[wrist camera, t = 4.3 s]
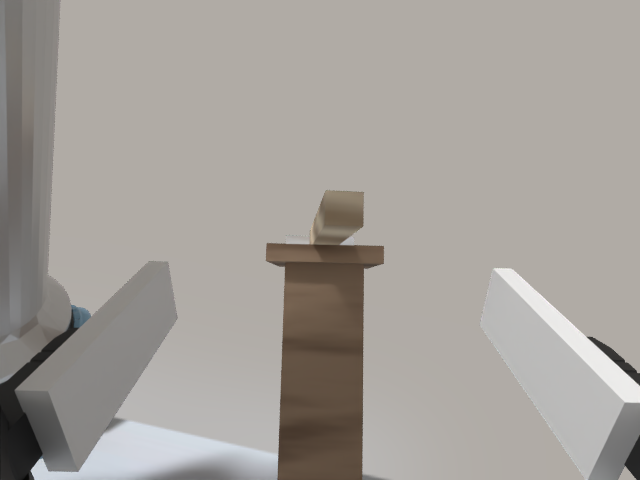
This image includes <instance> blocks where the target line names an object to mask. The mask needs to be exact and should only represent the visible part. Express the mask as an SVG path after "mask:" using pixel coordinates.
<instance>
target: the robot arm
mask: <svg viewBox="0 0 640 480" xmlns="http://www.w3.org/2000/svg"><path fill="white" fill-rule="evenodd" d="M59 19H60V0H0V480H34V477H33V475H32V473H31V471H30V470H31V469H32V468H33V466H34V465H35V464H36V462H37V461H38V460H39V459H42V458H43V459H44V462H45V464H46V466H47V469H48V471H64V472H78V471H79V470H80V468H81V467H82V465H83V464H84V462H85V461H86V459H87V457H88V456H89V454H90V453H91V451H92V450H93V448H94V447H95V445H96V444H97V442H98V441H99V439H100V437H101V436H102V434H103V433H104V431H105V430H106V428H107V427H108V425H109V424H110V422H111V420H112V419H113V417H114V416H115V414H116V413H117V411H118V410H119V408H120V407H121V405H122V403H123V402H124V400H125V399H126V397H127V396H128V394H129V393H130V391H131V390H132V388H133V387H134V385H135V383H136V382H137V380H138V379H139V377H140V376H141V374H142V373H143V371H144V370H145V368H146V367H147V365H148V363H149V362H150V360H151V359H152V357H153V355H154V354H155V352H156V351H157V349H158V348H159V347H160V345H161V343H162V342H163V340H164V339H165V337H166V336H167V334H168V333H169V331H170V329H171V328H172V326H173V325H174V323H175V322H176V320H177V313H176V307H175V301H174V295H173V289H172V283H171V277H170V271H169V265H168V262H156V261H155V262H154V261H149V262H148V263H147V264H146V265H145V266H144V267H143V268H142V269H141V270H140V271H138V272H137V274H135V275H134V276H133V277H132V278H131V279H130V280H129V281H128V282H127V283H126V284H125V285H124V286H123V287H122V288H121V289H120V290H119V291H118V292H116V293H115V294H114V296H112V297H111V298H110V299H109V300H108V301H107V302H106V303H105V304H104V305H103V306H102V307H101V308H100V309H99V310H98V311H97V312H96V313H95V314H94V315H93V316H91V315H90V313H89V311H88V310H86V309H85V308H80V307H76V306H74V305H71V304H70V300H69V296H68V294H67V292H66V291H65V289H64V288H63V286H62V285H61V284H60V283H58V281H56V280H55V279H54V278H52V277H51V276H49V275H48V256H49V235H50V213H51V192H52V170H53V148H54V126H55V124H54V123H55V106H56V83H57V62H58V40H59ZM480 326H481V328H482V329H483V331H484V332H485V334H486V335H487V336H488V338H489V339H490V341H491V342H492V344H493V345H494V347H495V348H496V350H497V351H498V353H499V354H500V355H501V357H502V358H503V360H504V361H505V363H506V364H507V366H508V367H509V369H510V370H511V372H512V373H513V375H514V376H515V377H516V379H517V380H518V382H519V383H520V385H521V386H522V388H523V389H524V391H525V392H526V394H527V395H528V396H529V398H530V399H531V401H532V402H533V404H534V405H535V407H536V408H537V409H538V411H539V412H540V414H541V415H542V417H543V418H544V420H545V421H546V423H547V424H548V426H549V427H550V429H551V430H552V432H553V433H554V434H555V436H556V437H557V439H558V440H559V442H560V443H561V445H562V446H563V448H564V449H565V451H566V452H567V453H568V455H569V456H570V458H571V459H572V461H573V462H574V464H575V465H576V467H577V468H578V469H579V471H580V472H581V474H582V475H583V477H584V478H585V480H618V478H619V476H620V475H621V473H622V471H623V469H624V467H625V466H626V467H627V468H628V470H629V471H630V472H631V473H632V475H633V476H634V477H635V478H636V479H637V480H640V373H637V371H636V370H635V369H634V368H633V367H632V366H631V365H630V364H629V363H625V360H624V359H623V358H622V357H621V356H619V355H618V354H617V353H616V352H615V351H614V350H613V349H611V348H610V347H608V346H607V345H605V344H603V343H602V342H600V341H598V340H596V339H595V338H593V337H586V336H585V335H584V334H583V333H582V332H580V331H579V330H578V329H577V328H576V327H575V326H574V325H573V324H572V323H571V322H570V321H568V320H567V319H566V318H565V317H564V316H563V315H562V314H561V313H560V312H559V311H557V310H556V309H555V308H554V307H553V306H552V305H551V304H550V303H549V302H547V300H545V299H544V298H543V297H542V296H541V295H540V294H539V293H538V292H537V291H536V290H535V289H533V288H532V287H531V286H530V285H529V284H528V283H527V282H526V281H524V279H523V278H521V277H520V276H519V275H518V274H517V273H516V272H515V271H514V270H513V269H503V268H502V269H501V268H493V270H492V274H491V278H490V283H489V287H488V291H487V295H486V300H485V304H484V308H483V312H482V316H481V321H480Z"/></svg>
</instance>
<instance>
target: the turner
mask: <svg viewBox="0 0 640 480" xmlns="http://www.w3.org/2000/svg"><path fill="white" fill-rule="evenodd" d="M363 195H364V192H351V191H330V190H326V191H325V193H324V196H323V199H322V201H321V204H320V206H319V209H318V211H317V214H316V217H315V219H314V222H313V224H312V227H311V230H310V236H294V235H286V244H317V245H354V238H352V237H350V236H351V235H353V234H354V233H355V232H357V231H358V230H359V229H360V228H362V227H363V202H364V196H363Z"/></svg>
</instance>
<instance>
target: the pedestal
mask: <svg viewBox="0 0 640 480" xmlns="http://www.w3.org/2000/svg"><path fill="white" fill-rule="evenodd" d="M266 261H267V262H270V263H272V264H275V265H277V266H280V267H285V286H284V287H285V288H284V315H283V342H282V343H283V344H282V370H281V399H280V429H279V455H278V480H362V436H363V432H362V431H363V429H362V427H363V426H362V425H363V300H364V297H363V296H364V291H363V290H364V268H365V269H367V268H371V267H374V266H377V265H381V264H384V246H360V245H359V246H358V245H317V244H273V243H267V249H266Z"/></svg>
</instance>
